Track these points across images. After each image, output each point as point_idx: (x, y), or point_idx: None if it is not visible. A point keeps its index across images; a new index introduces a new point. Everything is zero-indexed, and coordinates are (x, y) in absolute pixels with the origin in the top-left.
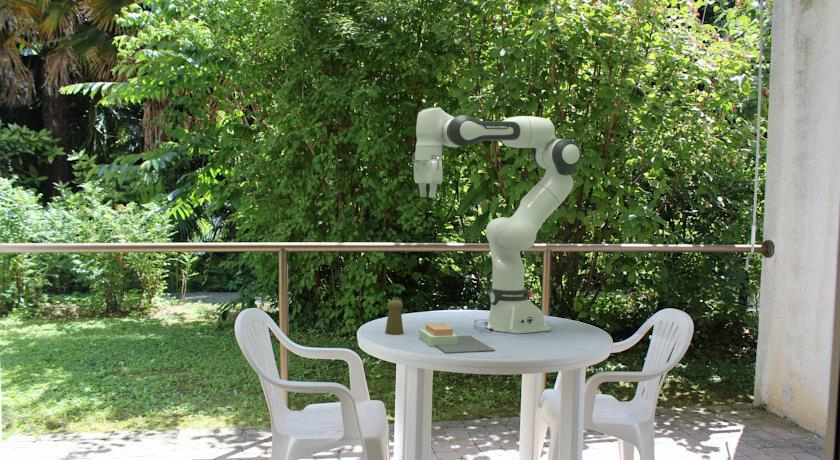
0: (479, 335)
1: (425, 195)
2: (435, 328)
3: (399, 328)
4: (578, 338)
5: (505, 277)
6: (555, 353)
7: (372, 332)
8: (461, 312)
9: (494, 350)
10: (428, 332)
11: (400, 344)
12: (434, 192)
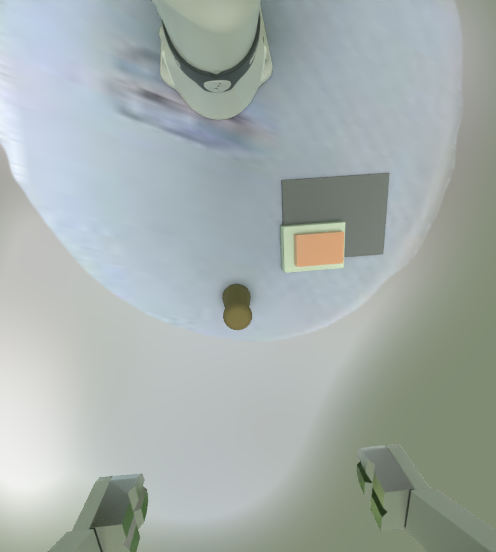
0: (272, 158)
1: (137, 489)
2: (333, 259)
3: (248, 295)
4: None
5: (253, 24)
6: (429, 68)
7: None
8: (25, 113)
9: (388, 174)
10: None
11: (315, 302)
12: (428, 493)
